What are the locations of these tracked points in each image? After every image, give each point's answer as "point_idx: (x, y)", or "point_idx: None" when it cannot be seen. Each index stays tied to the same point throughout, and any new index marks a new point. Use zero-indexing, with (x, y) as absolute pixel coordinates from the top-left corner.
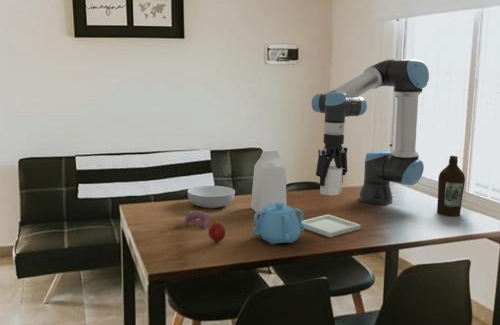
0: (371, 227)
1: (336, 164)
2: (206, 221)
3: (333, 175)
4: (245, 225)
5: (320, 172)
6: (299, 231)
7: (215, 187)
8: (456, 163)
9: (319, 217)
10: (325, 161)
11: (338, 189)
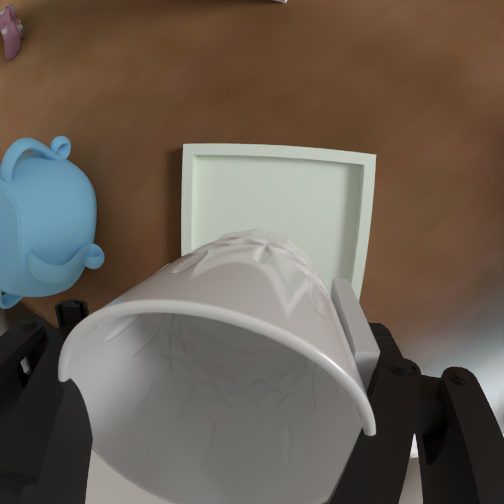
0: (394, 335)
1: (340, 481)
2: (5, 51)
3: (156, 442)
4: (75, 60)
5: (21, 383)
6: (62, 291)
7: None
8: None
9: (305, 158)
10: (16, 471)
11: (255, 373)
